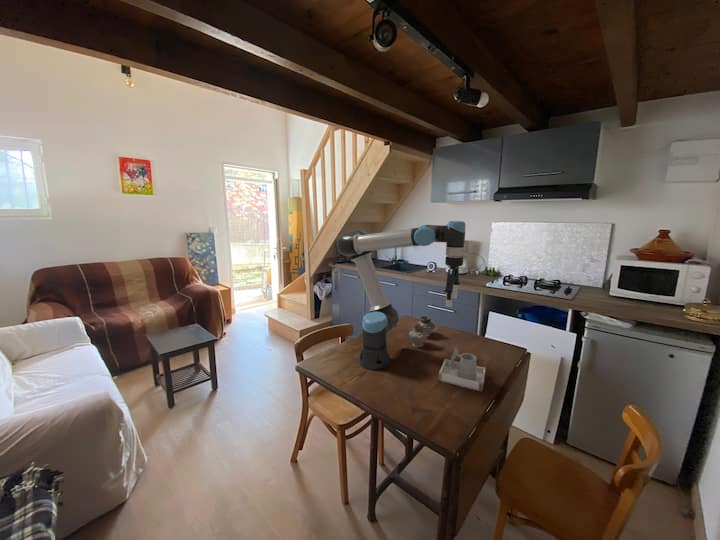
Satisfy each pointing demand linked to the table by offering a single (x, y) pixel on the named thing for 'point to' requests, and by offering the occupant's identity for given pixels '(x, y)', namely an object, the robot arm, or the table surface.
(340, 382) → the table surface
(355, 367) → the table surface
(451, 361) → the mug
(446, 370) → the crate
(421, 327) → the pottery
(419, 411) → the table surface
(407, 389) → the table surface
